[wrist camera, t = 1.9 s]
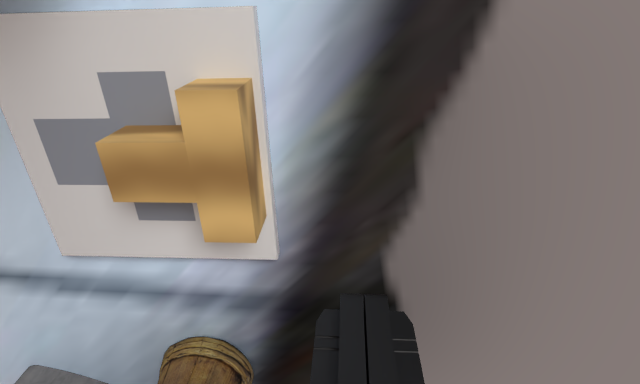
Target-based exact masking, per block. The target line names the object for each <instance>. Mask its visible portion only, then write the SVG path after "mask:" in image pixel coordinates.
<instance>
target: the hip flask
mask: <svg viewBox="0 0 640 384" xmlns="http://www.w3.org/2000/svg"><path fill="white" fill-rule="evenodd" d="M15 384H108V383H105V382H101V381H98V380H95V379H92V378H89V377H85V376H82V375H78V374H74V373H71V372H67V371H63V370H58V369H54V368H49V367H44V366H39V365H33V366H30V367H29V368H28V369H27V370H26V371H25V372H24V373H23V374H22V375H21V377H20V378H19V379H18V380H17V381H16V382H15Z"/></svg>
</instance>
